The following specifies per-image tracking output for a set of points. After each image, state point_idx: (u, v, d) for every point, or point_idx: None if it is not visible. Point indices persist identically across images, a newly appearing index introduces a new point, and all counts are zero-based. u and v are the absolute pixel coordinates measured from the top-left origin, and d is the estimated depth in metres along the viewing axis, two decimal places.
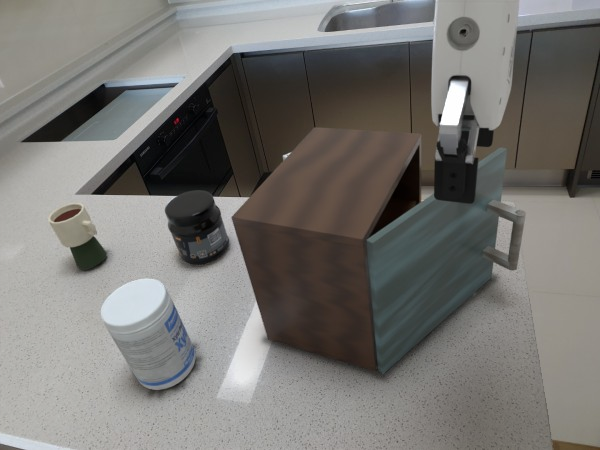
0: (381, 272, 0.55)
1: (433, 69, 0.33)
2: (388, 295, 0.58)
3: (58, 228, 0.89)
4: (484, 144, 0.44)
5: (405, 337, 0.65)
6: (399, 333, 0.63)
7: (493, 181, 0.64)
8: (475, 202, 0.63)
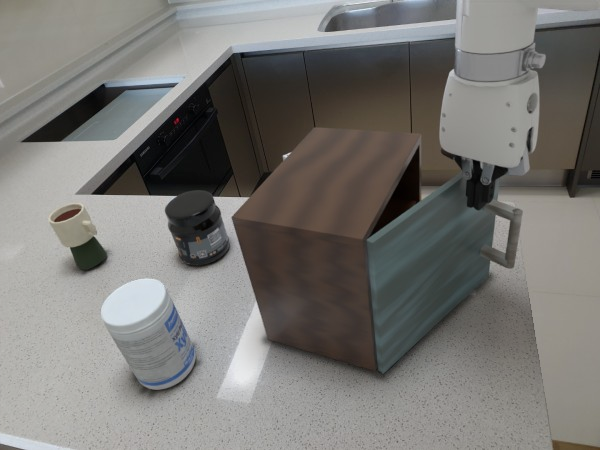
0: (381, 272, 0.55)
1: (519, 131, 0.48)
2: (388, 295, 0.58)
3: (58, 228, 0.89)
4: None
5: (404, 337, 0.65)
6: (398, 332, 0.63)
7: None
8: None
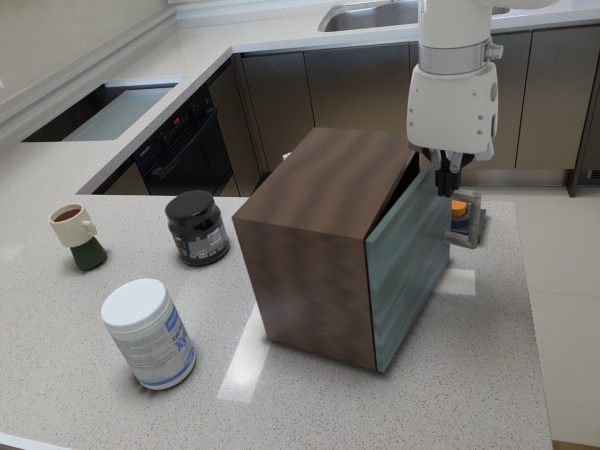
0: (380, 270, 0.55)
1: (485, 118, 0.52)
2: (385, 292, 0.58)
3: (58, 228, 0.89)
4: None
5: (397, 332, 0.66)
6: (393, 329, 0.64)
7: None
8: (437, 190, 0.66)
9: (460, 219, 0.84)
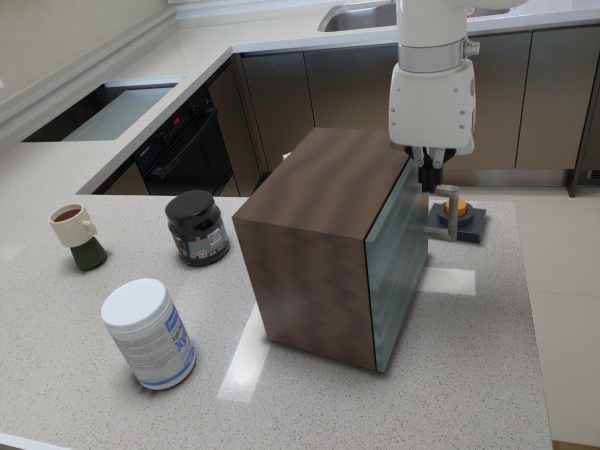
0: (379, 270, 0.55)
1: (467, 113, 0.53)
2: (383, 291, 0.58)
3: (58, 228, 0.89)
4: None
5: (392, 330, 0.66)
6: (389, 327, 0.64)
7: None
8: (418, 187, 0.68)
9: (460, 219, 0.84)
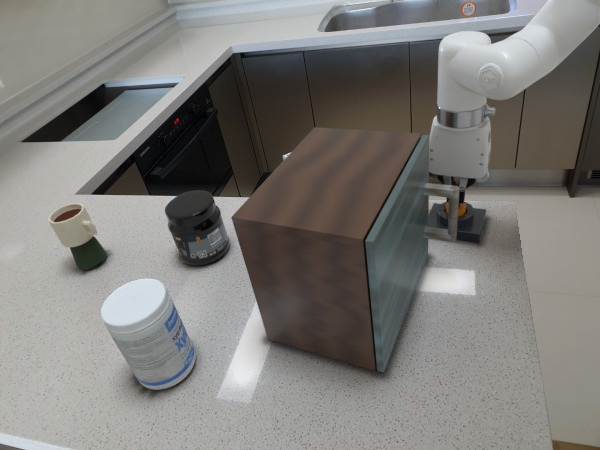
0: (379, 270, 0.55)
1: (485, 155, 0.76)
2: (383, 291, 0.58)
3: (58, 228, 0.89)
4: None
5: (392, 330, 0.67)
6: (389, 327, 0.64)
7: (424, 165, 0.70)
8: (418, 187, 0.68)
9: (460, 219, 0.84)
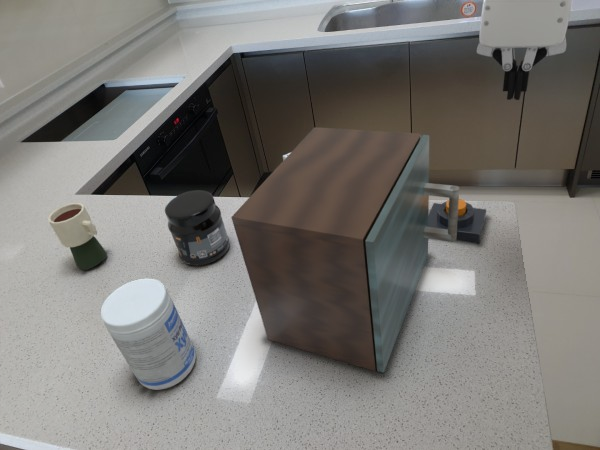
0: (379, 270, 0.55)
1: (567, 5, 0.54)
2: (383, 291, 0.58)
3: (58, 228, 0.89)
4: (514, 91, 0.65)
5: (392, 330, 0.67)
6: (389, 327, 0.64)
7: (424, 165, 0.70)
8: (418, 187, 0.68)
9: (460, 219, 0.84)
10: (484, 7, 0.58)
